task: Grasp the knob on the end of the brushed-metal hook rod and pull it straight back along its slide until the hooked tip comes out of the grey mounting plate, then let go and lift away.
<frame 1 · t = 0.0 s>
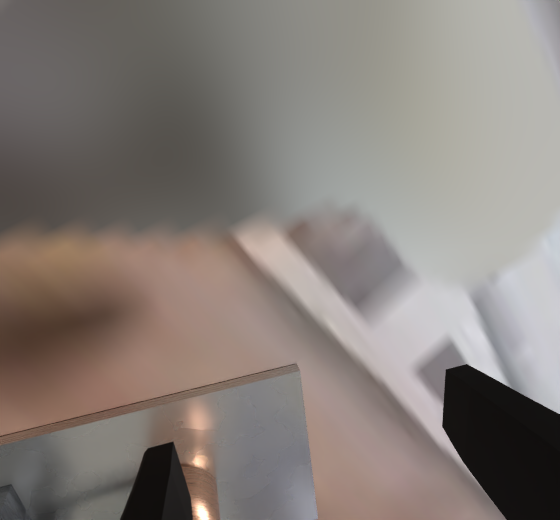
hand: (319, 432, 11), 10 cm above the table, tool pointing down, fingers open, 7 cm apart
grey mounting plate: (107, 499, 23), on the table
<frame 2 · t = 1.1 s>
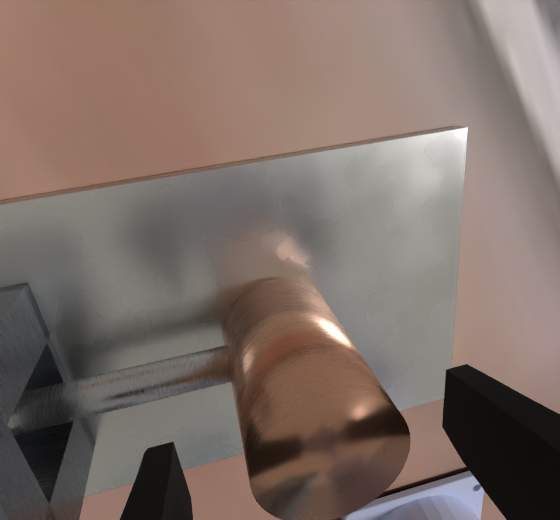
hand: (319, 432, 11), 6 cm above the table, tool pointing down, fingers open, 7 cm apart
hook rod: (111, 428, 12), point 4 cm above the table, slide at 0.0 cm
grey mounting plate: (167, 338, 16), on the table
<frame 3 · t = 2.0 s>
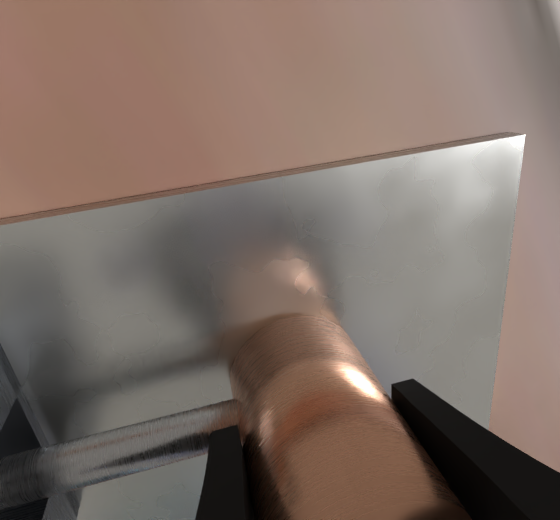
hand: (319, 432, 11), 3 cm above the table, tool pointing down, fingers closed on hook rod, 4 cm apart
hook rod: (93, 515, 10), point 4 cm above the table, slide at 0.0 cm, touching gripper
grey mounting plate: (164, 384, 13), on the table
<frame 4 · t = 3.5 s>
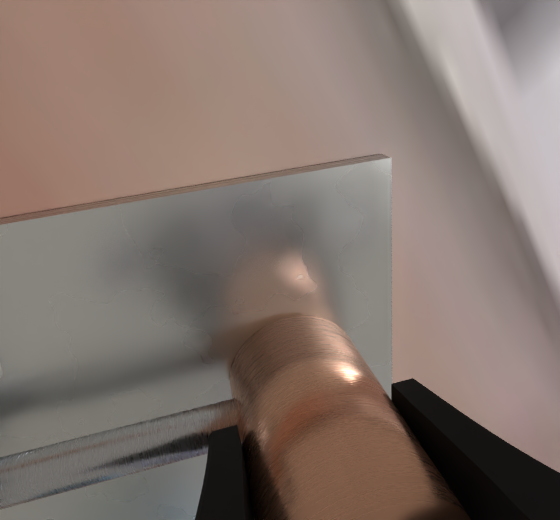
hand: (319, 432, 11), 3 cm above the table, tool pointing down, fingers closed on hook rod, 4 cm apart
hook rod: (92, 515, 9), point 4 cm above the table, slide at 4.1 cm, touching gripper
grey mounting plate: (24, 417, 13), on the table
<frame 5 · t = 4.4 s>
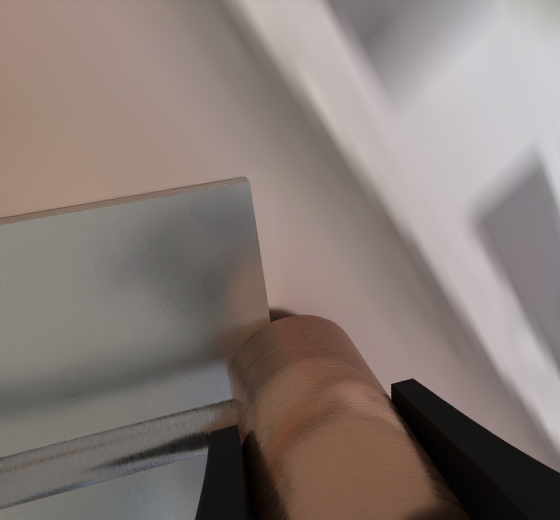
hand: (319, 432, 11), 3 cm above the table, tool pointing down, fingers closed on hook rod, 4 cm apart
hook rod: (92, 515, 9), point 4 cm above the table, slide at 8.0 cm, touching gripper
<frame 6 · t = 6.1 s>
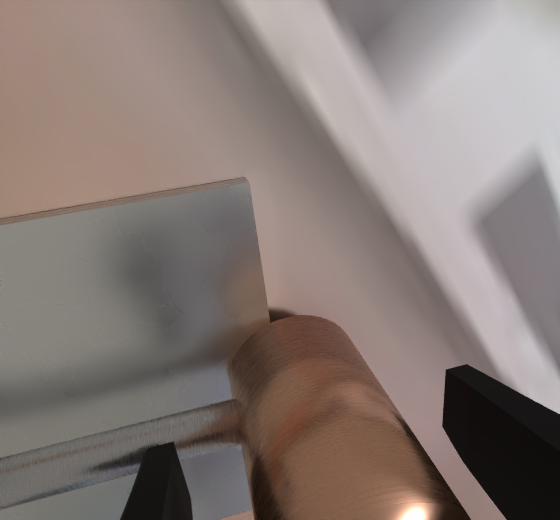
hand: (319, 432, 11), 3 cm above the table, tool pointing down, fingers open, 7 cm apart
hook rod: (92, 515, 10), point 4 cm above the table, slide at 8.0 cm
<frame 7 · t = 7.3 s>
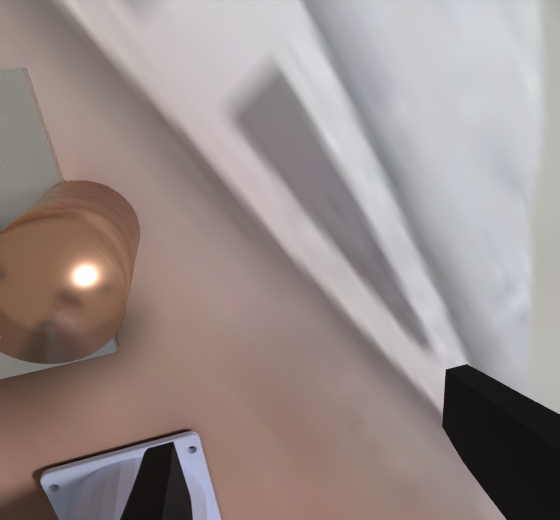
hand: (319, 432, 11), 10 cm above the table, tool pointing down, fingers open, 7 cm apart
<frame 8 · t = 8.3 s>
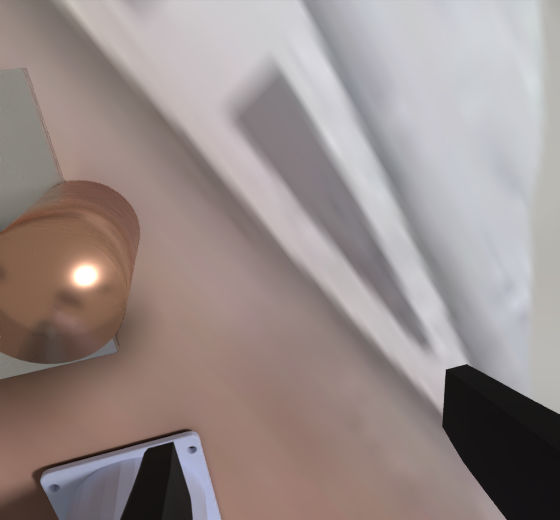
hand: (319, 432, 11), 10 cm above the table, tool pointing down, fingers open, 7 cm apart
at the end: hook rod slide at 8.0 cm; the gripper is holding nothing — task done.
